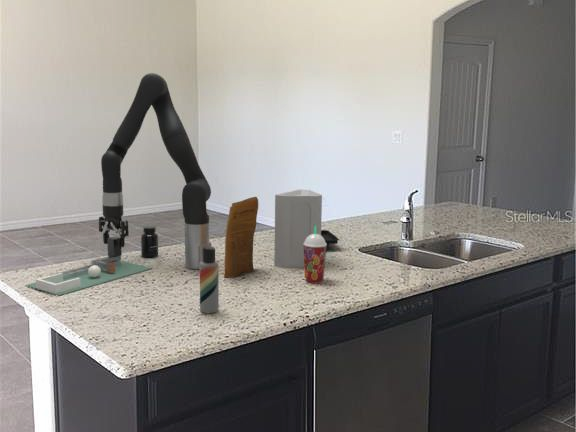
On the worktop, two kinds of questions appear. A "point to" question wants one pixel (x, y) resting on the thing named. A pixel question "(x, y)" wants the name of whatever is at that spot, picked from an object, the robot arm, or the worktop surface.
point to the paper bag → (295, 225)
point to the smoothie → (314, 257)
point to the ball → (94, 271)
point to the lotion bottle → (209, 282)
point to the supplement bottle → (149, 242)
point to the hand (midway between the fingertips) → (113, 245)
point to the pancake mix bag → (240, 237)
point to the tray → (329, 237)
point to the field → (102, 277)
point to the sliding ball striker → (110, 255)
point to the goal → (57, 283)
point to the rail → (81, 271)
